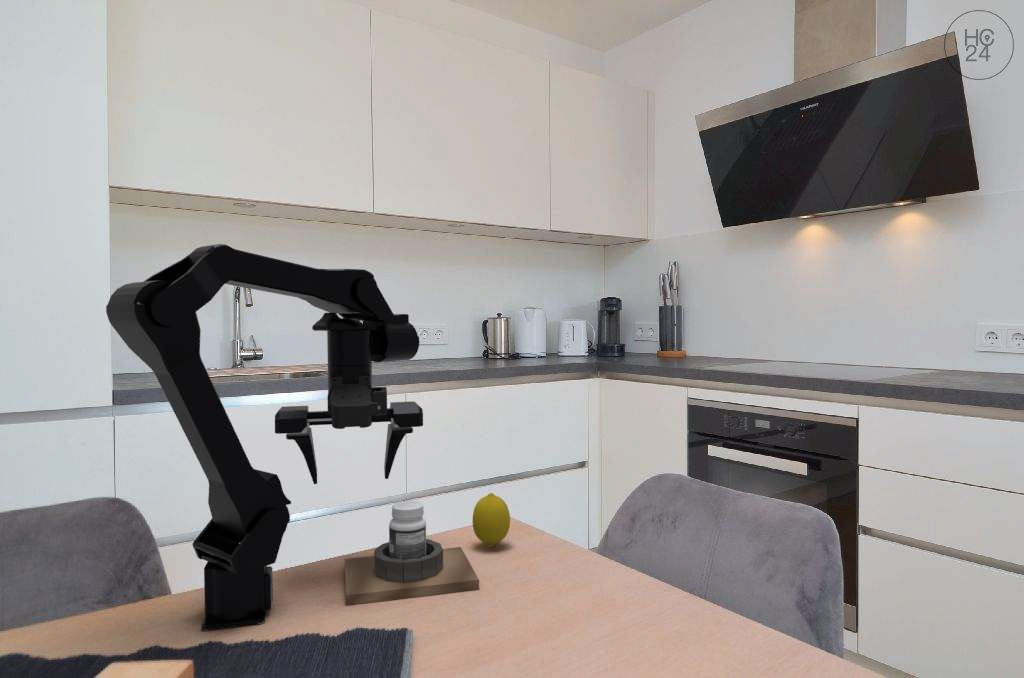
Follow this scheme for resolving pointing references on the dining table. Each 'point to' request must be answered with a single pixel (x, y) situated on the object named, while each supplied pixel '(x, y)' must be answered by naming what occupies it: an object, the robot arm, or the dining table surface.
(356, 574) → the socket board
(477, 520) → the lemon
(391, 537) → the pill bottle
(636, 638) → the dining table surface
